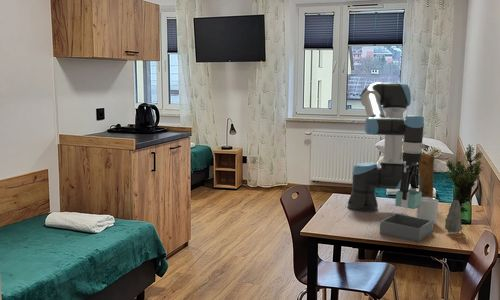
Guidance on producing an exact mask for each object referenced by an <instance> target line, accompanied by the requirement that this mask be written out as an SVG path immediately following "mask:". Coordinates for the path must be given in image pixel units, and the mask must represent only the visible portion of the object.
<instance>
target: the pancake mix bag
mask: <svg viewBox="0 0 500 300" xmlns="http://www.w3.org/2000/svg"><path fill="white" fill-rule="evenodd" d="M420 153H421V162H418V163H417V164H419V186H418V187H419V189H418V191H419V192H422V197H429V198H434V174H435V173H434V167H435V166H434V165H435V157H434V155H431V154H427V153H422V152H420Z"/></svg>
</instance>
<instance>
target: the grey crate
mask: <svg viewBox="0 0 500 300" xmlns="http://www.w3.org/2000/svg"><path fill="white" fill-rule="evenodd" d="M433 226H434V224H433V221H432V220H427V219H422V218H417V216H411V215H405V214H399V213H394V214H392V215H390V216H387V217H385V218H384V219H382V220H380V224H379V234H381V235H385V236H389V237H393V238H398V239H401V240H402V239H403V240H406V241H410V242H411V241H412V242H416V243H420V242H421V241H423V240H424V239H425V238H427V237H428V236H430V235H432V233H433V229H434V228H433Z"/></svg>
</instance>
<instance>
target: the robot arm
mask: <svg viewBox="0 0 500 300" xmlns="http://www.w3.org/2000/svg"><path fill="white" fill-rule="evenodd" d="M411 101H412V96H411V89H410V86H409V85H408V84H407V83H406V82H405V83H404V82H380V81H379V82H377V81H376V82H373V83H370V84H369V85H367V86H365V88H364V89H363V90H362V91H361V94H360V102H361V105H362V106H363V107H364V109H365V113H366V119H365V120H364V121H365V122H364V132H365V134H367V135H373V136H376V135H378V136H384V149H383V150H384V151H383V159H382V160H381V161H380V165H378V164H377V162H371V161H369V162H367V161H366V162H360V163H359V162H358V163H356V164H355V165H353V168H352V183H351V184H352V186H351V189H352V190H351V194H350V196H349V199H348V201H347V207H348V208H349V209H351V210H354V211H360V212H374V211H377V210H378V209H379V208H378V207H379V205H378V200H377V196H376V189H377V190H378V189H381V190H394V191H395V190H399V191H402V198H401V208H405V207H406V209H409V208H408V199H409V192H408V190H413V191H417V189H418V190H419V182H420V176H419V164H418V162H421V153H422V150H423V148H424V144H423V136H424V128H425V127H424V126H425V117H424V116H423V115H418V114H416V115H415V114H407V115H406V116H405V117H404V113H405V112H406V111H407V110H408V109H407V108H408V107H410V106H411V103H412V102H411ZM384 112H385V114H384Z"/></svg>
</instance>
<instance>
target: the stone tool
mask: <svg viewBox="0 0 500 300" xmlns="http://www.w3.org/2000/svg"><path fill="white" fill-rule="evenodd" d="M461 208H462V205H461V204H460V201H459V200H458V199H454V200H453V201H452V202H451V204H450V206H449V209H448V214H447V215H446V218H445V225H444V229H445V230H446V231H447V233H449V234H451V233H454V234H455V233H457V234H458V233H460V232H462V231H463V226H462V225H463V224H462V222H461V221H462V219H461V217H462V212H461Z"/></svg>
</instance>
